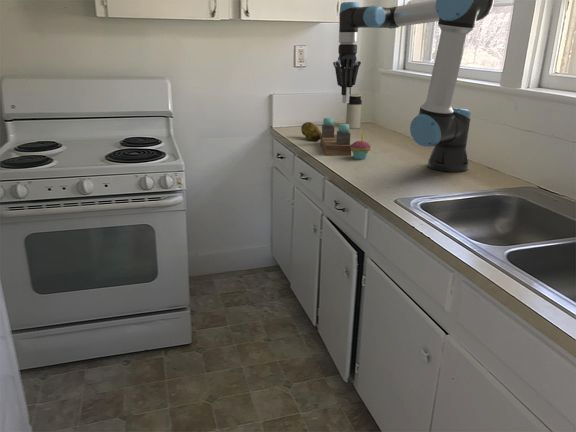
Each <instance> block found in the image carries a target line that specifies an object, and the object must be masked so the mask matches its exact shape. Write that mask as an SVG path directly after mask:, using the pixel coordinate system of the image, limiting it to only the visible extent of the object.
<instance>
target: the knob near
mask: <svg viewBox="0 0 576 432" xmlns="http://www.w3.org/2000/svg"><path fill="white" fill-rule="evenodd" d="M337 131H338V132H341V133H347V132H350V129H349V124H346V123H339V124H338V130H337Z"/></svg>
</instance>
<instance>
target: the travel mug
mask: <svg viewBox="0 0 576 432" xmlns="http://www.w3.org/2000/svg"><path fill="white" fill-rule="evenodd" d="M362 95H363V94H357V93H351V94H350V95H349V103H346V116H345V124H349V130H351V129H352V130H357V129H360V128H361V119H362V116H361V115H362V102H363V101H362Z"/></svg>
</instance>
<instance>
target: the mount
mask: <svg viewBox="0 0 576 432" xmlns="http://www.w3.org/2000/svg"><path fill="white" fill-rule="evenodd" d="M321 133H322V134H320V140H319V143H320V146H321V147H322V150H323V152H324V155H325V156H352V151H351V149H350V147H351V144H352V143H351V132H350V131H349V132H347V133H341V132H338V130H337V131H336V133H335V125H334V124H333V126H324V125H323V124H321Z"/></svg>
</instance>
